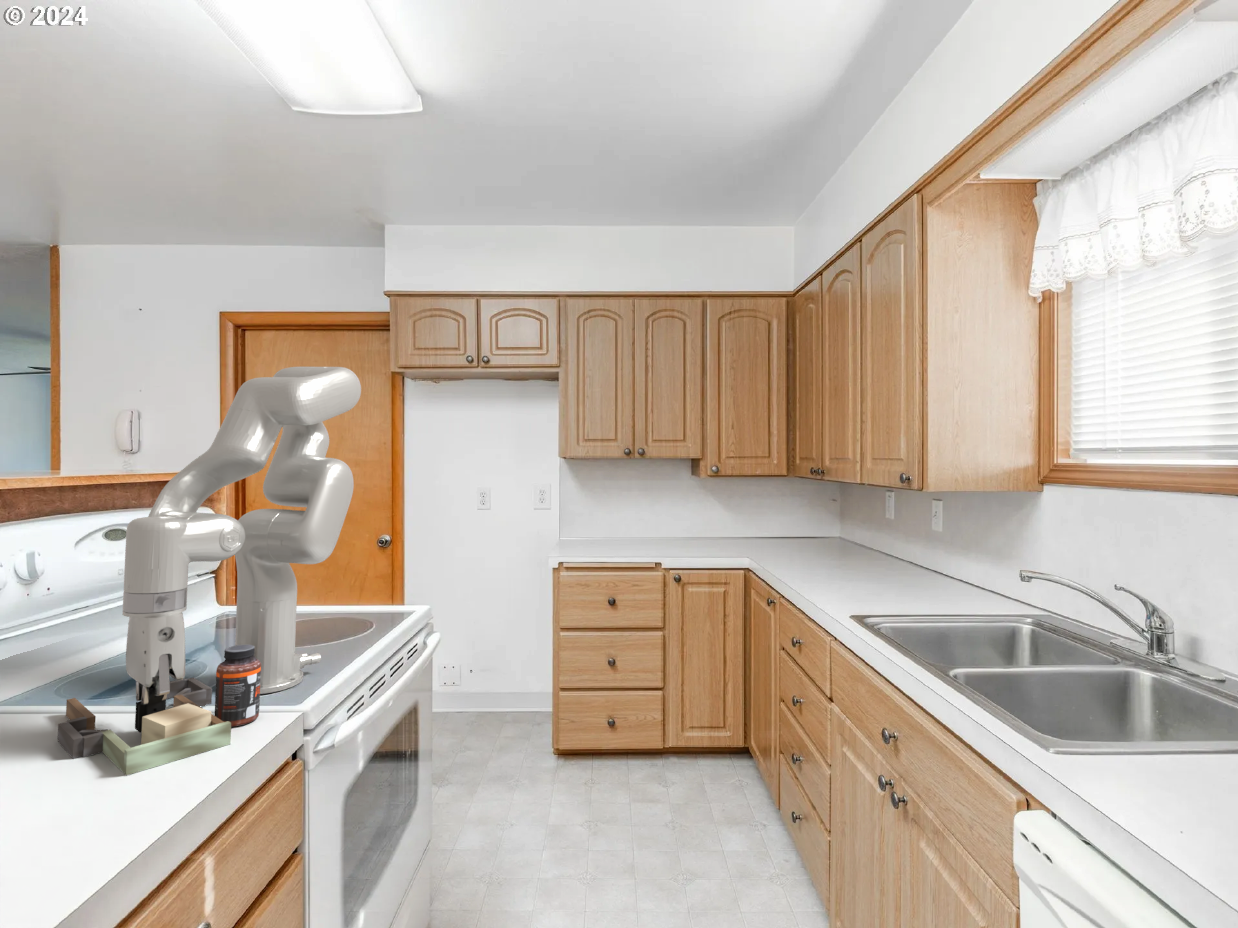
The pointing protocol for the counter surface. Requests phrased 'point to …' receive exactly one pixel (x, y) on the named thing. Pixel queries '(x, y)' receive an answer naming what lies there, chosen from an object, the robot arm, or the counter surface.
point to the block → (174, 722)
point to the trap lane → (88, 741)
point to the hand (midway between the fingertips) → (149, 727)
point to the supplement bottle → (238, 686)
